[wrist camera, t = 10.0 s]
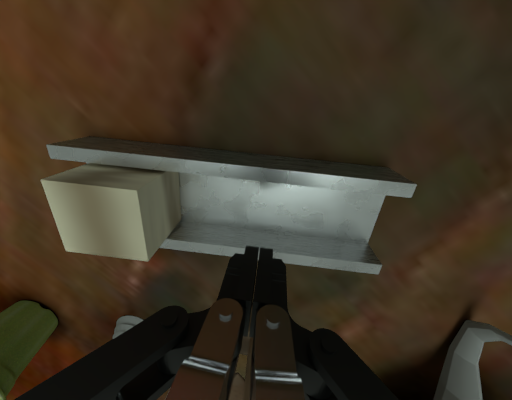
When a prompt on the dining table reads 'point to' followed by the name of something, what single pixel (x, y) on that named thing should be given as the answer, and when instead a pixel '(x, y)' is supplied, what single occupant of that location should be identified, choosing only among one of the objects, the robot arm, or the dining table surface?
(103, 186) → the block
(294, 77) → the dining table surface
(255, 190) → the chute
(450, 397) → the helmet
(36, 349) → the plant pot
